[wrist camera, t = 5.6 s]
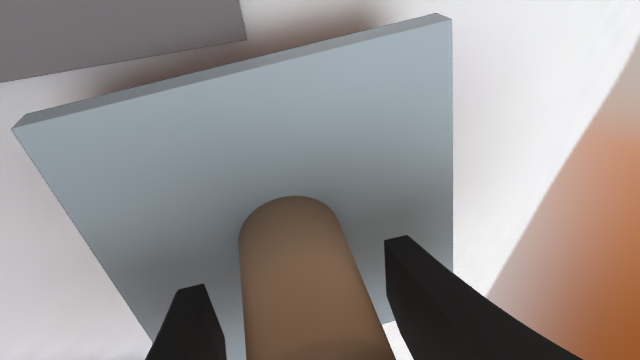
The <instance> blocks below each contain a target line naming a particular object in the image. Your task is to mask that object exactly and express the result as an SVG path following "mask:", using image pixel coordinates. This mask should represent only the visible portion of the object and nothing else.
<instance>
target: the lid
mask: <svg viewBox="0 0 640 360" xmlns="http://www.w3.org/2000/svg"><path fill="white" fill-rule="evenodd" d="M11 130H12V132H13V133H14V135H15V136H16V138H17V139H18V141H19V142H20V144H21V145H22V147H23V148H24V150H25V151H26V153H27V154H28V156H29V157H30V159H31V160H32V162H33V163H34V165H35V166H36V168H37V169H38V171H39V172H40V174H41V175H42V177H43V178H44V180H45V181H46V183H47V184H48V186H49V187H50V189H51V190H52V192H53V193H54V195H55V196H56V198H57V199H58V201H59V202H60V204H61V205H62V207H63V208H64V210H65V211H66V213H67V214H68V216H69V217H70V219H71V220H72V222H73V223H74V225H75V226H76V228H77V229H78V231H79V232H80V234H81V235H82V237H83V238H84V240H85V241H86V243H87V244H88V246H89V247H90V249H91V250H92V252H93V253H94V255H95V256H96V258H97V259H98V261H99V262H100V264H101V265H102V267H103V269H104V270H105V272H106V273H107V275H108V276H109V278H110V279H111V281H112V282H113V284H114V285H115V287H116V288H117V290H118V291H119V293H120V294H121V296H122V297H123V299H124V300H125V302H126V303H127V305H128V306H129V308H130V309H131V311H132V312H133V314H134V315H135V317H136V318H137V320H138V321H139V323H140V324H141V326H142V327H143V329H144V330H145V332H146V333H147V335H148V336H149V338H150V339H151V341H152V342H153V343H154V341H155V338H156V336H157V334H158V332H159V330H160V328H161V325H162V323H163V321H164V319H165V316H166V314H167V312H168V309H169V307H170V305H171V302H172V300H173V298H174V295H175V293H176V292H177V291H178V289H182V288H186V287H190V286H195V285H199V284H203V283H204V285H205V287H206V290H207V292H208V295H209V298H210V300H211V303H212V305H213V308H214V310H215V313H216V316H217V318H218V321H219V323H220V326H221V329H222V331H223V334H224V336H225V345H226V356H227V360H396V359H395V356H394V354H393V351H392V349H391V347H390V344H389V342H388V339H387V337H386V335H385V332H384V330H383V327H382V324H385V323H388V322H391V321H395V318H394V315H393V313H392V310H391V307H390V304H389V302H388V299H387V296H386V277H385V254H384V240H387V239H391V238H395V237H400V236H404V235H408V236H409V237H411V238H412V239H413V240H414V241H416V242H417V243H418V244H419V245H420V246H421V247H423V248H424V249H425V250H426V251H427V252H428V253H430V254H431V255H432V256H433V257H434V258H435V259H437V260H438V261H439V262H440V263H441V264H443V265H444V266H445V267H446V268H448V269H449V270H450V271H451V272H452V273H453V130H452V19H450V18H447V17H445V16H442V15H440V14H437V13H434V14H430V15H426V16H422V17H418V18H414V19H410V20H405V21H401V22H397V23H393V24H389V25H385V26H381V27H377V28H373V29H369V30H365V31H361V32H357V33H353V34H349V35H345V36H341V37H337V38H332V39H328V40H324V41H320V42H316V43H312V44H308V45H304V46H300V47H296V48H292V49H288V50H284V51H280V52H276V53H272V54H268V55H263V56H259V57H255V58H251V59H247V60H243V61H239V62H235V63H231V64H227V65H223V66H219V67H215V68H211V69H207V70H203V71H199V72H195V73H190V74H186V75H182V76H178V77H174V78H170V79H166V80H162V81H158V82H154V83H150V84H146V85H142V86H138V87H134V88H130V89H126V90H121V91H117V92H113V93H109V94H105V95H101V96H97V97H93V98H89V99H85V100H81V101H77V102H73V103H69V104H65V105H61V106H57V107H53V108H48V109H44V110H40V111H36V112H32V113H28V114H26V115H24V116H23V117H22V118H21V119H20V120H19V121H18V122H17V123H16V124H15V125H14V126H13V127H12V128H11Z"/></svg>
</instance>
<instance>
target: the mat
mask: <svg viewBox="0 0 640 360" xmlns="http://www.w3.org/2000/svg"><path fill="white" fill-rule="evenodd" d="M244 40H247V39H246V34H245V29H244V24H243V20H242V15H241V10H240V5H239V1H238V0H0V83H2V82H8V81H13V80H19V79H25V78H31V77H36V76H42V75H48V74H54V73H59V72H65V71H71V70H77V69H82V68H88V67H94V66H100V65H105V64H111V63H117V62H123V61H128V60H134V59H140V58H146V57H151V56H157V55H163V54H169V53H175V52H180V51H186V50H192V49H198V48H203V47H209V46H215V45H221V44H226V43H232V42H238V41H244Z"/></svg>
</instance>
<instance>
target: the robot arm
mask: <svg viewBox="0 0 640 360" xmlns="http://www.w3.org/2000/svg"><path fill="white" fill-rule="evenodd" d="M384 254H385V277H386V296H387V299H388V302H389V304H390V307H391V310H392V313H393V315H394V318H395V320H396V323H397V326H398V328H399V331H400V333H401V335H402V337H403V339H404V341H405V343H406V345H407V347H408V349H409V351H410V353H411V355H412V357H413V359H414V360H583V359H581V358H579V357H577V356H576V355H574V354H572V353H570V352H569V351H567V350H565V349H563V348H562V347H560V346H558V345H557V344H555V343H553V342H552V341H550V340H548V339H547V338H545V337H543V336H541V335H540V334H538V333H537V332H535V331H534V330H532V329H530V328H529V327H527V326H526V325H524V324H523V323H521V322H520V321H518V320H517V319H515V318H514V317H512V316H511V315H509V314H508V313H506V312H505V311H503V310H502V309H501V308H499V307H498V306H496V305H495V304H493V303H492V302H491V301H489V300H488V299H487V298H485V297H484V296H482V295H481V294H480V293H478V292H477V291H476V290H474V289H473V288H472V287H471V286H469V285H468V284H467V283H465V282H464V281H463V280H461V279H460V278H459V277H457V276H456V275H455V274H454V273H452V272H451V271H450V270H449V269H448V268H446V267H445V266H444V265H443V264H441V263H440V262H439V261H438V260H437V259H435V258H434V257H433V256H432V255H431V254H430V253H428V252H427V251H426V250H425V249H424V248H423V247H421V246H420V245H419V244H418V243H417V242H416V241H414V240H413V239H412V238H411V237H409V236H408V235H404V236H400V237H395V238H391V239H387V240H384ZM145 360H227V356H226V345H225V336H224V334H223V331H222V329H221V326H220V323H219V321H218V318H217V316H216V313H215V310H214V308H213V305H212V303H211V300H210V298H209V295H208V292H207V290H206V287H205V285H204V283H203V284H199V285H195V286H190V287H186V288H182V289H178V291H177V292H176V293H175V295H174V298H173V300H172V302H171V305H170V307H169V309H168V312H167V314H166V316H165V319H164V321H163V323H162V325H161V328H160V330H159V332H158V334H157V336H156V338H155V341H154V343H153V345H152V347H151V349H150V351H149V353H148V355H147V357H146V359H145Z"/></svg>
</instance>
